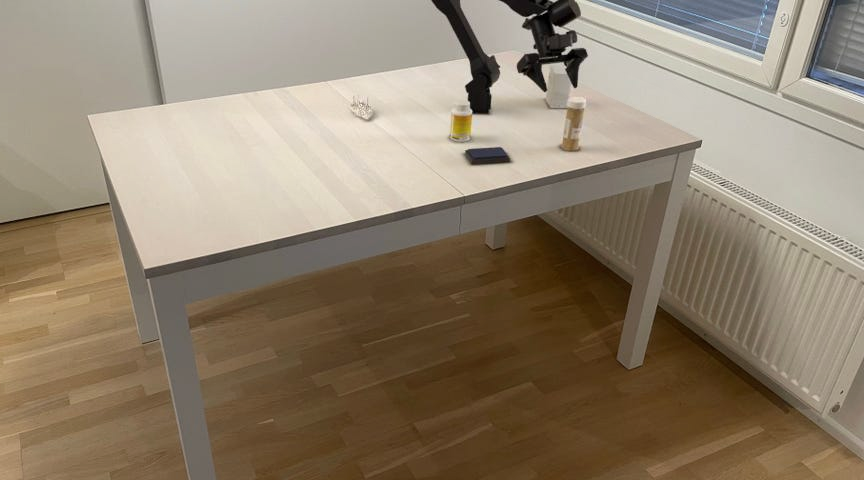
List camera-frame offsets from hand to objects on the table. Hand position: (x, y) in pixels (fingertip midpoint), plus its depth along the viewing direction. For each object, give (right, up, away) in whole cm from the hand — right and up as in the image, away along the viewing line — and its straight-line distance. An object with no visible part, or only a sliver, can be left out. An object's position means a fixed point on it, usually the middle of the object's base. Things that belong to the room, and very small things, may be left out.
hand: (561, 89), depth 190 cm
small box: (+6, +3, +29) cm, 30 cm away
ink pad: (-20, -19, -5) cm, 28 cm away
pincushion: (-53, -2, +21) cm, 57 cm away
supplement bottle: (-26, -12, +6) cm, 29 cm away
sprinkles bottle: (+3, -15, +1) cm, 16 cm away
